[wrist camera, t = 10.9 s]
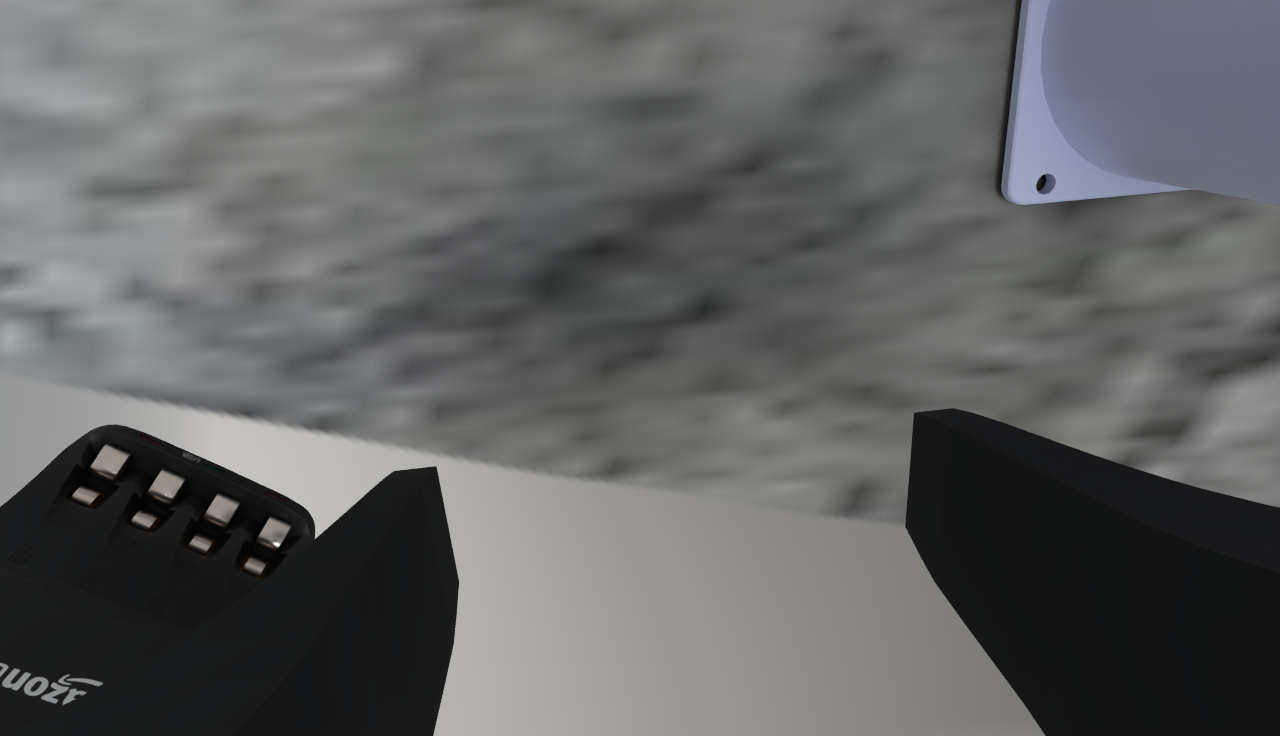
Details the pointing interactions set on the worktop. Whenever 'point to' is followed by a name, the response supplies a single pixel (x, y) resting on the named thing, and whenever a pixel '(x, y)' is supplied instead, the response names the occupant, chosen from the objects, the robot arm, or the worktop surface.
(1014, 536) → the robot arm
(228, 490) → the battery charger
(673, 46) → the worktop surface
